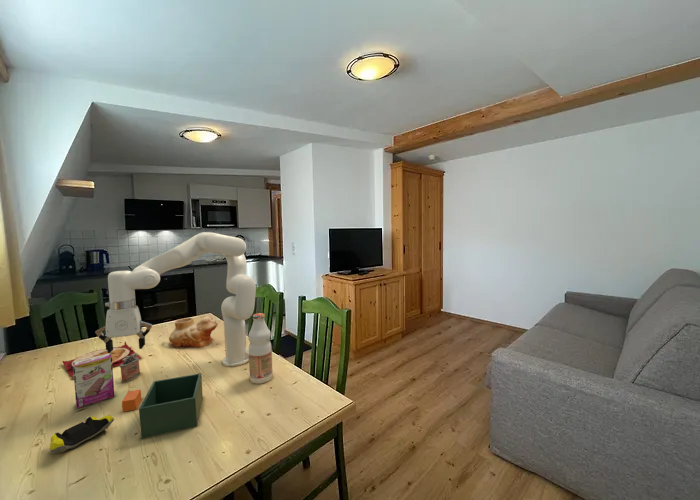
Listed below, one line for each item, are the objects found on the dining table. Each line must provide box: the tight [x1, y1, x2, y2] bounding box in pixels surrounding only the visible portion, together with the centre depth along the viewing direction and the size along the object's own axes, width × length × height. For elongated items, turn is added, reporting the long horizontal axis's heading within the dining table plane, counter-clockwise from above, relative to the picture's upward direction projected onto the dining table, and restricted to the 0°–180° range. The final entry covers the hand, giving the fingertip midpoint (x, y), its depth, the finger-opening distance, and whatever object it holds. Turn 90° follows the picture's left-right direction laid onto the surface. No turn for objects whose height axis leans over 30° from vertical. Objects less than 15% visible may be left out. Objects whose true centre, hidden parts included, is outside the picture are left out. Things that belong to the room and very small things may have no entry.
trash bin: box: [138, 372, 204, 440], centre depth 103 cm, size 16×18×10 cm
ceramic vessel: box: [168, 315, 219, 349], centre depth 167 cm, size 14×26×15 cm, turn 89°
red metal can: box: [119, 352, 141, 384], centre depth 130 cm, size 8×3×10 cm, turn 168°
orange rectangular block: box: [121, 388, 143, 413], centre depth 110 cm, size 4×7×4 cm, turn 21°
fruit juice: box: [247, 312, 274, 385], centre depth 127 cm, size 9×9×28 cm
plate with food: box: [61, 341, 143, 379], centre depth 146 cm, size 24×26×4 cm
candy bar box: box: [73, 353, 116, 410], centre depth 113 cm, size 11×5×16 cm, turn 135°
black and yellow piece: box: [49, 414, 115, 454], centre depth 92 cm, size 15×6×10 cm
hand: (126, 349), depth 111 cm, fingers open, 9 cm apart
